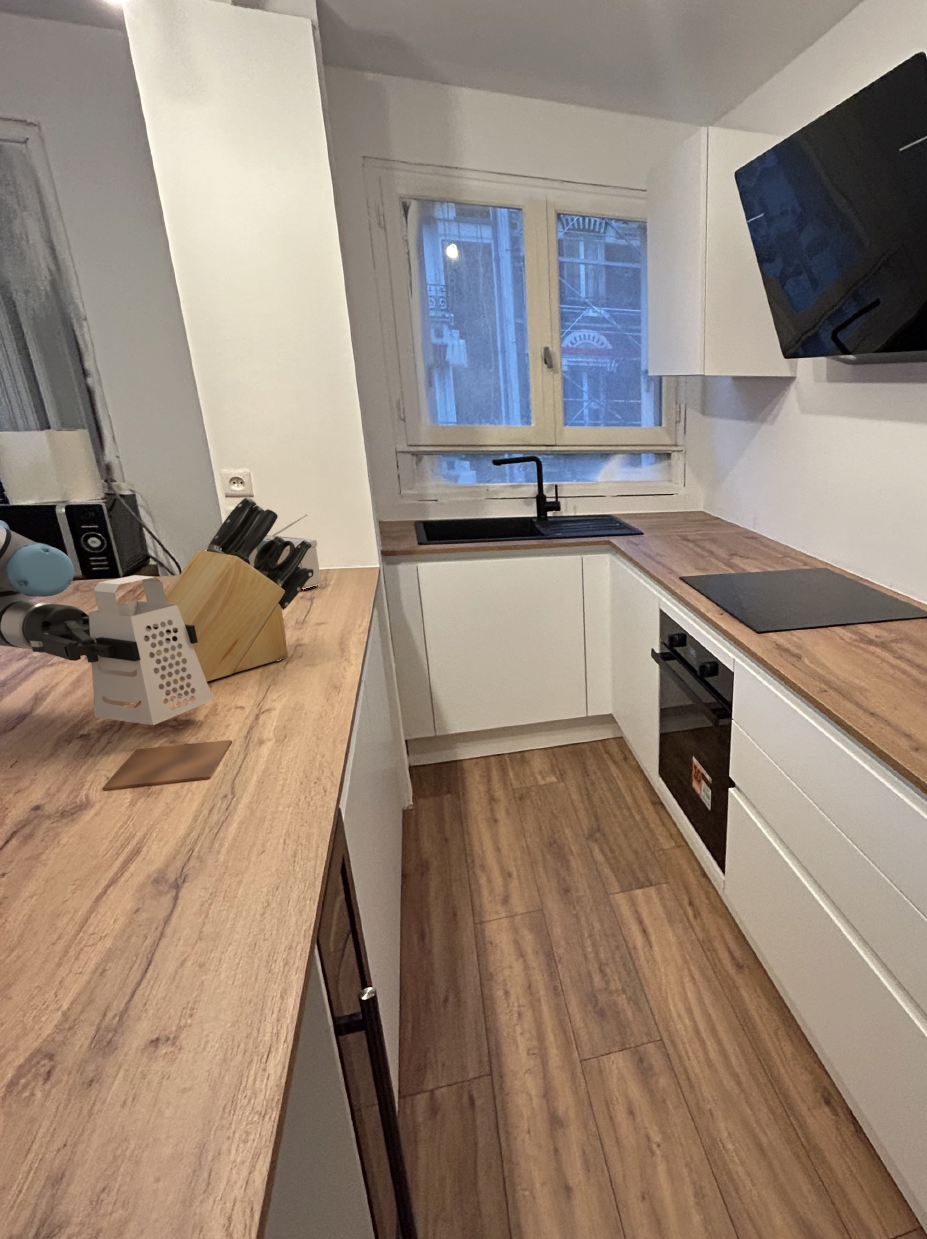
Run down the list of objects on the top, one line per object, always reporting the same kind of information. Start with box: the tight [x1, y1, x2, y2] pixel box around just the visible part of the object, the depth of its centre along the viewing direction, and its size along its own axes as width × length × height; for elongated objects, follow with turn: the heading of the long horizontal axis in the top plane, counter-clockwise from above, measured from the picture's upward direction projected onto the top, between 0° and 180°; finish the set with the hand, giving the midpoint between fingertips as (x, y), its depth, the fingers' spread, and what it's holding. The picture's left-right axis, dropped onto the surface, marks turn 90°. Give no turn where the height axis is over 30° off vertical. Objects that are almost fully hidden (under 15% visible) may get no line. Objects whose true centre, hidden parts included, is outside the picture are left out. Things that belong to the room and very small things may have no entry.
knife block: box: [154, 496, 314, 685], centre depth 134 cm, size 11×35×31 cm, turn 155°
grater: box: [88, 574, 214, 726], centre depth 108 cm, size 10×10×20 cm
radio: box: [249, 513, 322, 588], centre depth 199 cm, size 21×8×20 cm, turn 72°
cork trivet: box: [102, 739, 233, 791], centre depth 101 cm, size 12×12×1 cm
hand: (166, 642), depth 106 cm, fingers closed on grater, 8 cm apart
